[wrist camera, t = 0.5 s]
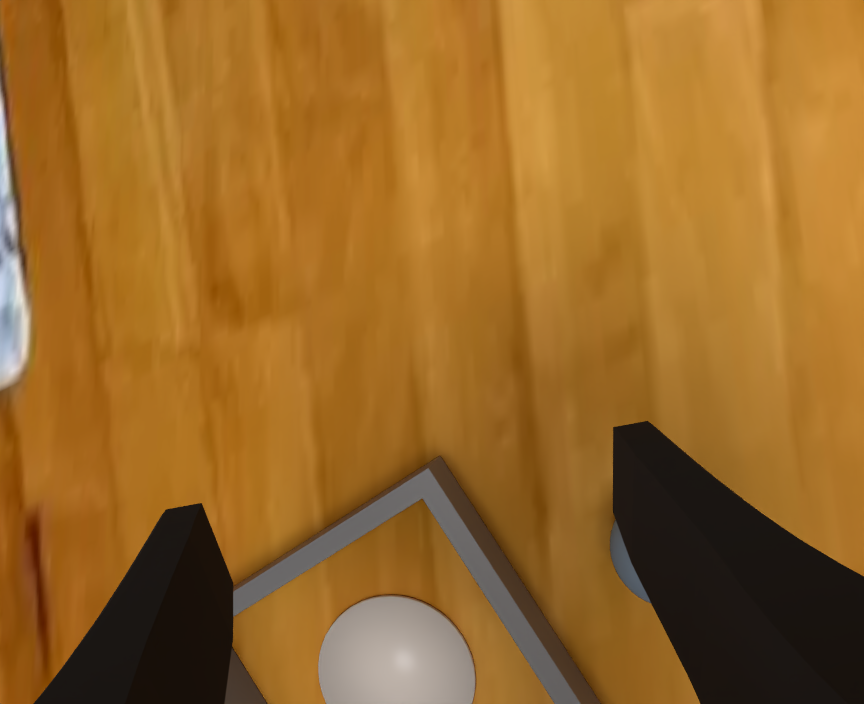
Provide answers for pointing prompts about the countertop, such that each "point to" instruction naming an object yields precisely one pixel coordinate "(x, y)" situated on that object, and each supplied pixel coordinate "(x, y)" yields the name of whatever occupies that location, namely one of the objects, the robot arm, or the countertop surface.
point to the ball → (625, 564)
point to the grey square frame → (413, 613)
